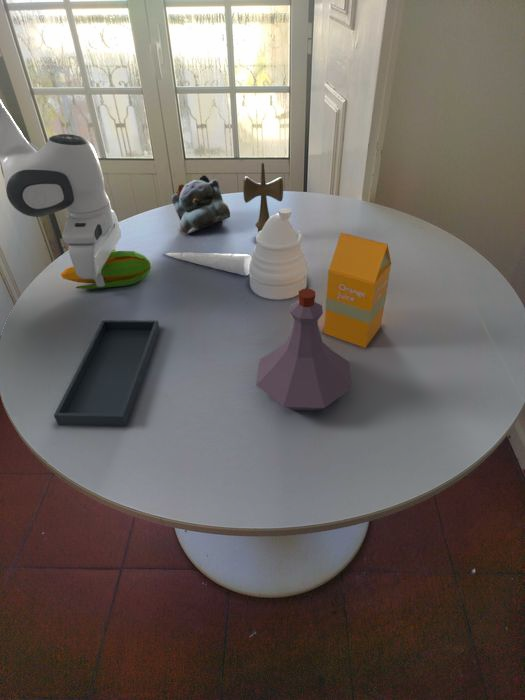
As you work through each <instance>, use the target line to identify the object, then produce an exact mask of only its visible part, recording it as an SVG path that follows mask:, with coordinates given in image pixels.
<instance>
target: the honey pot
mask: <svg viewBox="0 0 525 700" xmlns="http://www.w3.org/2000/svg"><path fill="white" fill-rule="evenodd" d="M291 216H292V209H291V208H289V207H283V208H279V209H278V213H274V214H272V215H271V216H269V217H270V218H269V219H268V220H267V222H266V223H265V225H264V227H263V228H262V230H261V231H260V232H258V231H257V233H258V234H256V235H255V237H256V241H255V242H256V243H255V246H254V247H253V251H252V254H251V255H252V256H251V257H252V259H251V260H250V264H249V269H250V270H249V272H250V273H249V275H248V276H249V286H250V289H251V291H252V292H253V293H254V294H255V295H257V296H259V297H262V298H264V299H269V300H288V299H291V298H294V297H297V296H299V291H300V290H302V289H307V285H308V283H307V282H308V261H307V259H306V257H305V253H304V248H303V247H302V245H301V244H302V242H303V240H304V236H303V233H302V232H301V231H300V230H298V229H296V228H294V227H293V225H292V223H291V221H290V220H289V219H290V217H291Z"/></svg>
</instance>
